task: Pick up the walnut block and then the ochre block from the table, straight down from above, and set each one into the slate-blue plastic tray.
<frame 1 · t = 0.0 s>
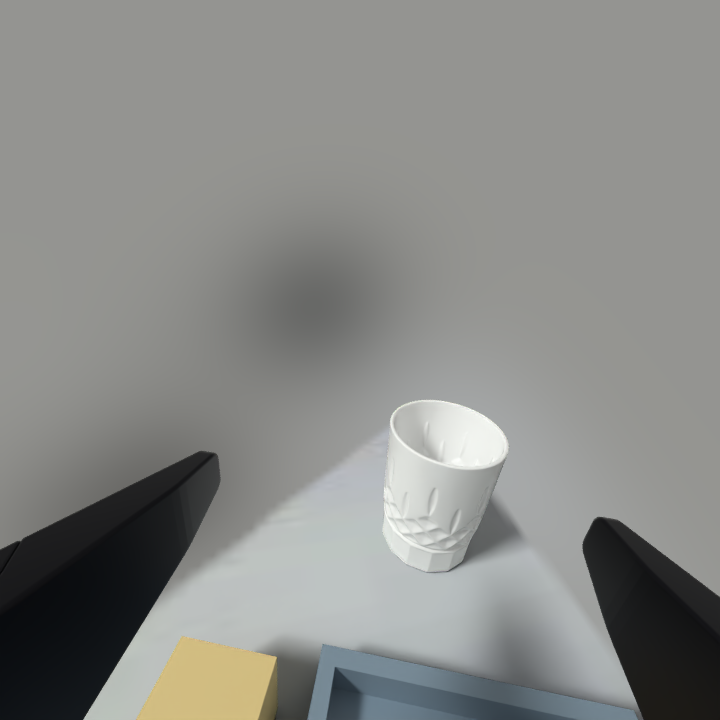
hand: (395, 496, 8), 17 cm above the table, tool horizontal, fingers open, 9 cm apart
white cup: (423, 534, 27), on the table
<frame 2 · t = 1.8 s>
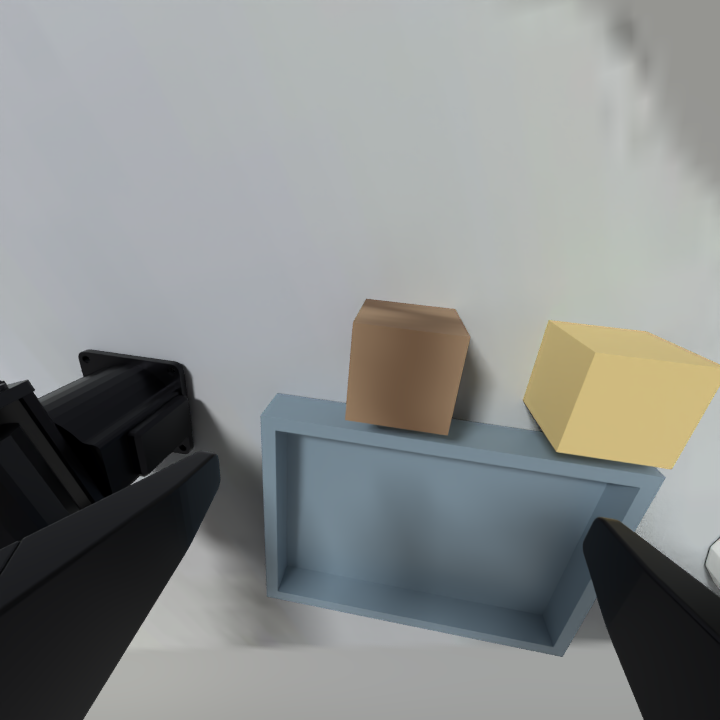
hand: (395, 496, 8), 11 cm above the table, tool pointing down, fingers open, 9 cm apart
ochre block: (580, 367, 17), on the table
walnut block: (404, 344, 18), on the table
slate tray: (425, 514, 22), on the table
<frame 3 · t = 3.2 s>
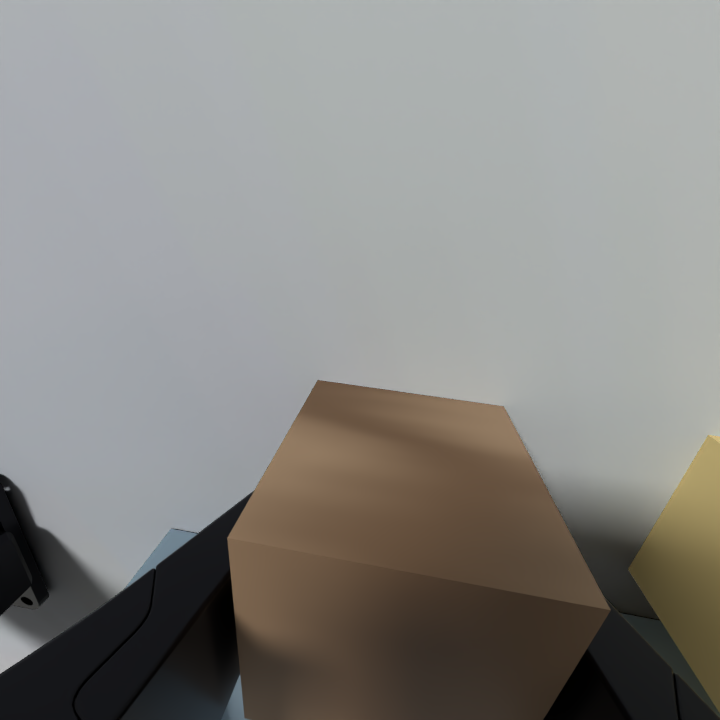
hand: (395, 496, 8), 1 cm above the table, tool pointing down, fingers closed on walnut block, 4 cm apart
walnut block: (396, 466, 9), on the table, touching gripper
slate tray: (433, 709, 13), on the table
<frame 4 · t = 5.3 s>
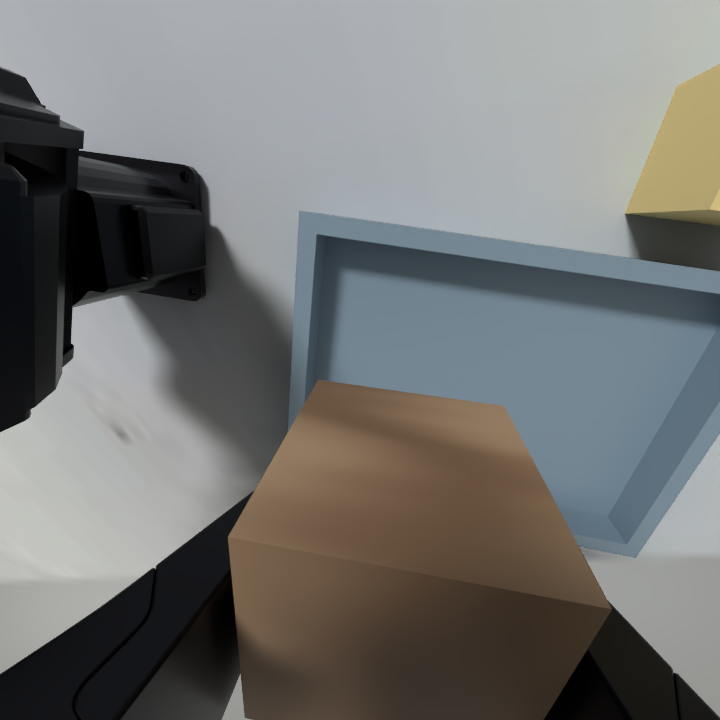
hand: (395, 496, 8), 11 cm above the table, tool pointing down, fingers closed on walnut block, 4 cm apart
ochre block: (705, 161, 13), on the table
walnut block: (396, 466, 9), point 10 cm above the table, touching gripper
slate tray: (480, 385, 18), on the table
when the fingers open (3 cm above the table, at t = 7.2 s): walnut block drops 2 cm, resting on slate tray.
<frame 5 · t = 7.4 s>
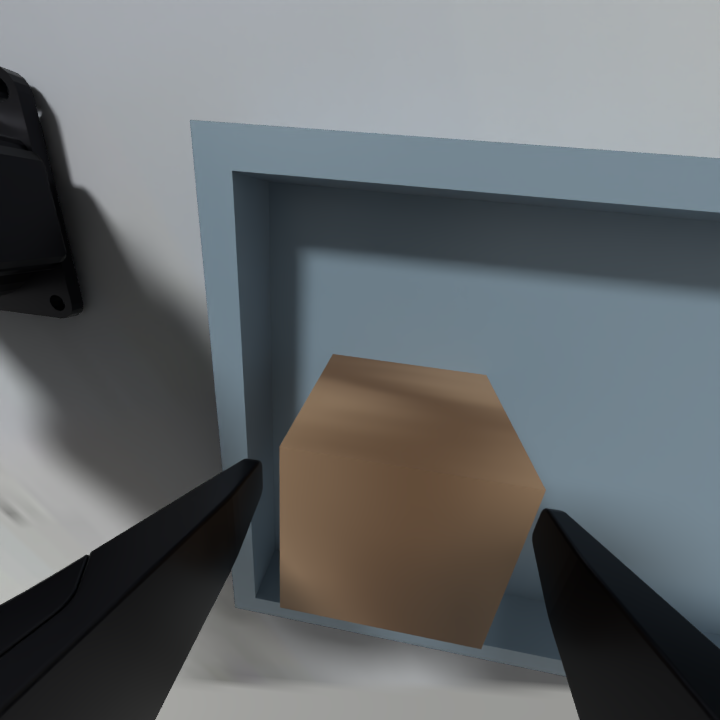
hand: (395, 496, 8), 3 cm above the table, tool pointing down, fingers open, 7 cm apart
walnut block: (397, 428, 11), point 1 cm above the table, touching slate tray
slate tray: (553, 441, 11), on the table
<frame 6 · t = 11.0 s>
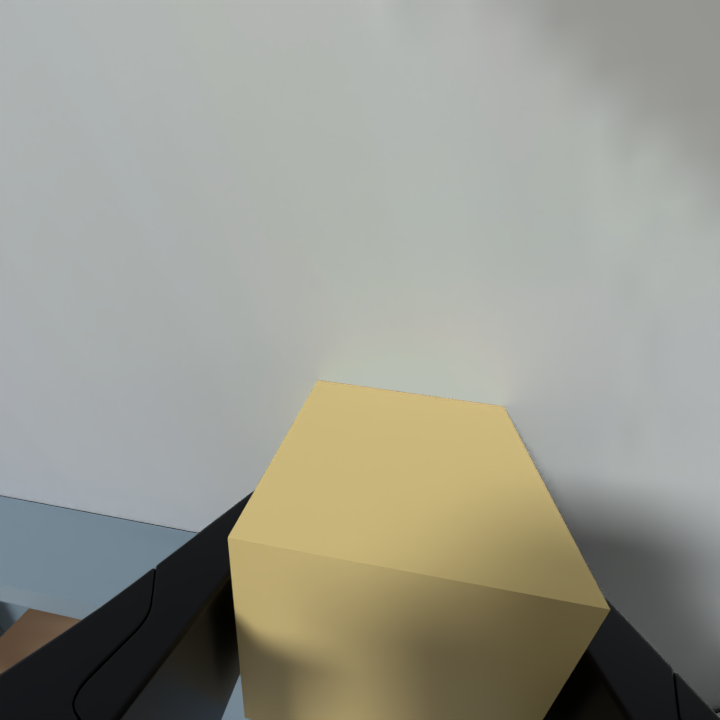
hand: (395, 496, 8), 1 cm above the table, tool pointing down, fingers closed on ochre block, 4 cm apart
ochre block: (396, 466, 9), on the table, touching gripper
walnut block: (94, 652, 14), point 1 cm above the table, touching slate tray
slate tray: (217, 661, 14), on the table
when the fingers open (3 cm above the table, at t = 14.9 s): ochre block drops 2 cm, resting on slate tray.
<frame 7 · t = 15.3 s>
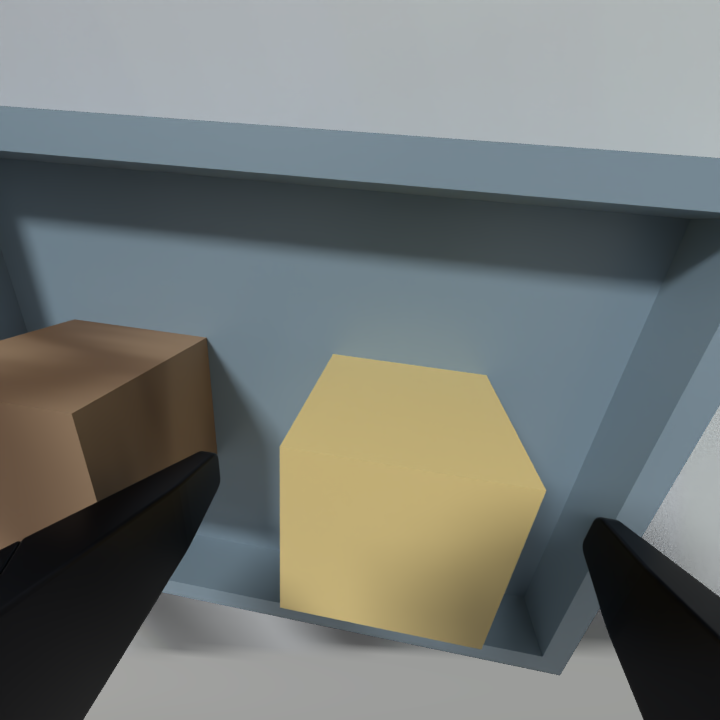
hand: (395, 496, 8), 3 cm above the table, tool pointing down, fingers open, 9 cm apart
ochre block: (397, 428, 11), point 1 cm above the table, touching slate tray
walnut block: (150, 390, 11), point 1 cm above the table, touching slate tray
slate tray: (298, 403, 11), on the table
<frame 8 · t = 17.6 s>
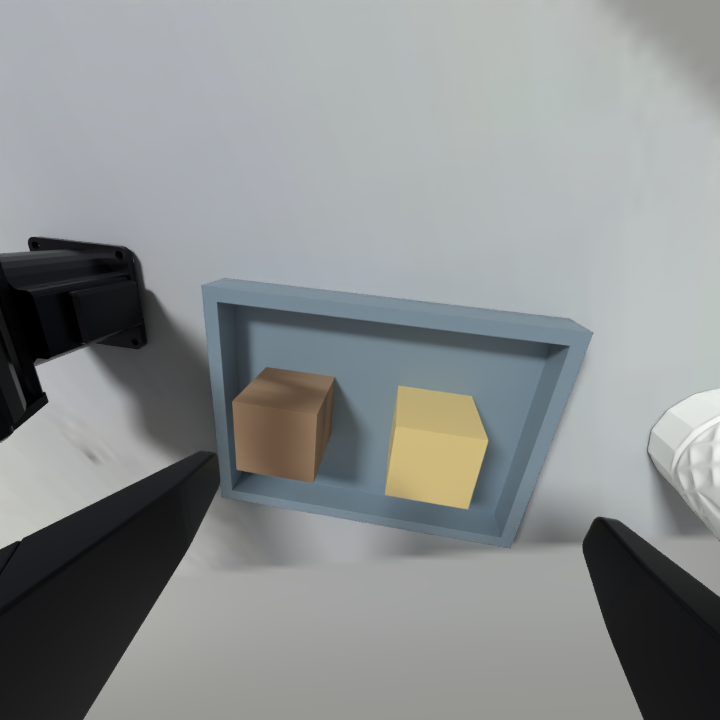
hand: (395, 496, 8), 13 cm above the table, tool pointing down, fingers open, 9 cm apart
ochre block: (428, 421, 21), point 1 cm above the table, touching slate tray
white cup: (707, 434, 20), on the table
walnut block: (299, 402, 22), point 1 cm above the table, touching slate tray
slate tray: (375, 409, 22), on the table
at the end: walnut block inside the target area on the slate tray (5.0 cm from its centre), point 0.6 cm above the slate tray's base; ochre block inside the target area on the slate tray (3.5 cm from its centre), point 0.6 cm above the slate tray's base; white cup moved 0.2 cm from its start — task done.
